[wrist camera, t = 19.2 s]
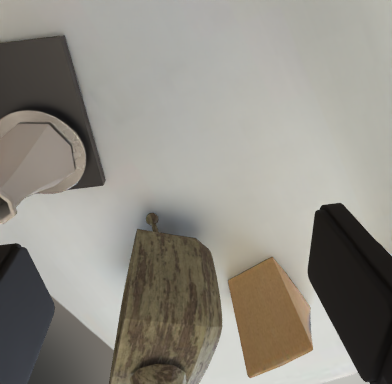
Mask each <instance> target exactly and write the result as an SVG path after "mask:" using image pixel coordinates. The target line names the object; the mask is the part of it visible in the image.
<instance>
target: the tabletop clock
mask: <svg viewBox="0 0 392 384" xmlns="http://www.w3.org/2000/svg"><path fill="white" fill-rule="evenodd" d="M146 222H147V223H148V224H149V225H152V229H153V232H152V231H146V230H140V229H137V232H136V236H135V240H134V245H133V250H132V255H131V259H130V264H129V269H128V274H127V279H126V284H125V289H124V294H123V299H122V305H121V311H120V317H119V323H118V329H117V336H116V342H115V348H114V355H113V361H112V367H111V374H110V381H109V384H199V382H200V381H201V379H202V377H203V375H204V373H205V371H206V370H207V368H208V365H209V363H210V361H211V359H212V356H213V354H214V352H215V349H216V347H217V344H218V342H219V338H220V335H221V330H222V311H221V301H220V295H219V288H218V282H217V276H216V271H215V267H214V262H213V258H212V255H211V252H210V250H209V249H208V248H207V247H206V246H204V245H203V244H202V243H201V242H200V241H198V240H197V239H196V238H190V237H184V236H178V235H171V234H165V233H159V231H158V229H157V226H156V223H157V222H158V216H157V215H156V214H154V213H150V214H148V215H147V217H146Z"/></svg>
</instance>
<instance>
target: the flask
mask: <svg viewBox="0 0 392 384" xmlns="http://www.w3.org/2000/svg"><path fill="white" fill-rule="evenodd" d="M74 171H75V168H74V162H73V157H72V151H71V146H70V145H69V144H68V143H67V142H66V141H65V140H64V139H63V138H62V137H61V136H60V135H59V134H58V133H57V132H56V131H55V130H54V129H53V128H52V127H51V126H50V125H49V124H17V125H16V126H15V127H14V128H12V129H11V130H10V131H9V132H8V133H6V134H5V135H4V136H3V137H2V138H0V224H4V223H6V222H7V221H8V220H10V219H11V218H13V217H14V216H15V215H16V214H17V211H16V207H17V206H18V205H19V203H20V202H21V201H22V200H23V199H24V198H26V197H29V196H31V195H33V194H35V193H38V192H40V191H42V190H45V189H48V188H50V187H53V186H55V185H57V184H58V183H60V182H61V181H62V180H64V179H65V178H66V177H68V176H69V175H70V174H72V173H73V172H74Z"/></svg>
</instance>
